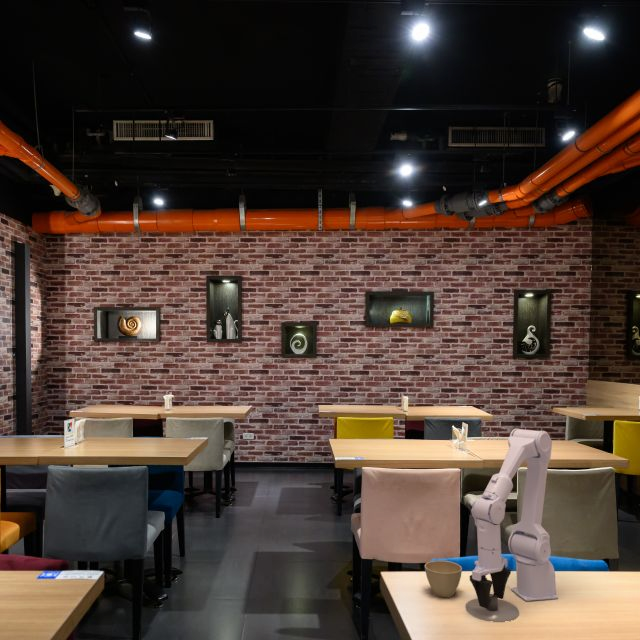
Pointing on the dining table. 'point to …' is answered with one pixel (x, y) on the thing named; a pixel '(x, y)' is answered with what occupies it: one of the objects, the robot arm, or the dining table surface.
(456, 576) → the flower pot
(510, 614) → the lid
